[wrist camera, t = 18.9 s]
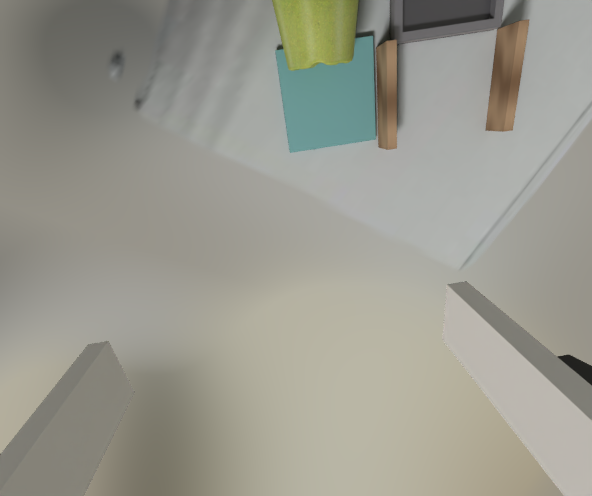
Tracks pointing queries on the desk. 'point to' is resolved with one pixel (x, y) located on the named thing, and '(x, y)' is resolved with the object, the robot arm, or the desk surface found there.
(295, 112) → the pad
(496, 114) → the channel
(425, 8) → the tray
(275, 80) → the desk surface
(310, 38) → the plant pot
